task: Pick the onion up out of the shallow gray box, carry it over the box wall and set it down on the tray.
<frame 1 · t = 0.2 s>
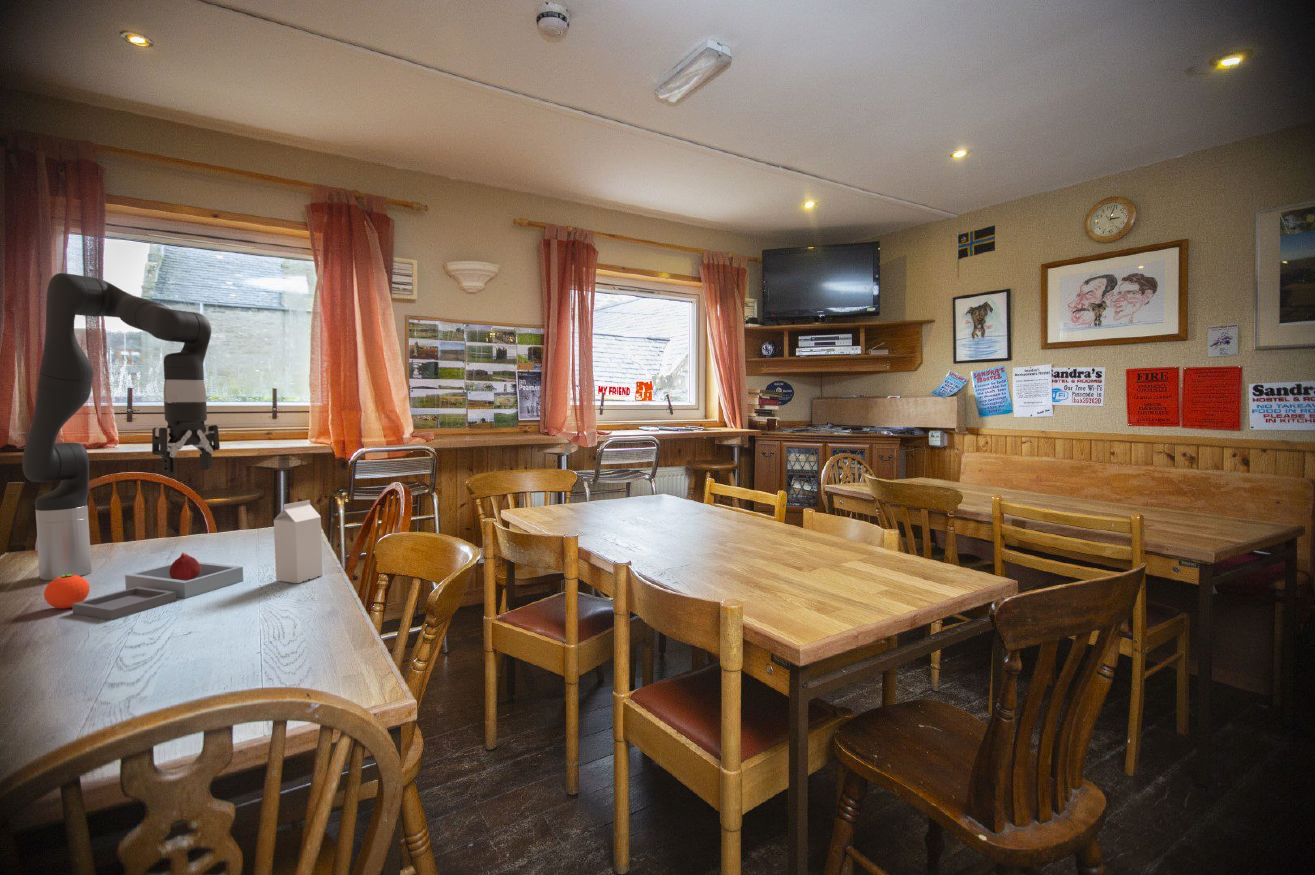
hand: (188, 472, 136), 28 cm above the table, fingers open, 8 cm apart
milk carton: (299, 579, 148), on the table
tray: (125, 607, 128), on the table
onion: (186, 586, 143), resting in shallow gray box
shallow gray box: (185, 585, 143), on the table
clementine: (68, 607, 128), on the table
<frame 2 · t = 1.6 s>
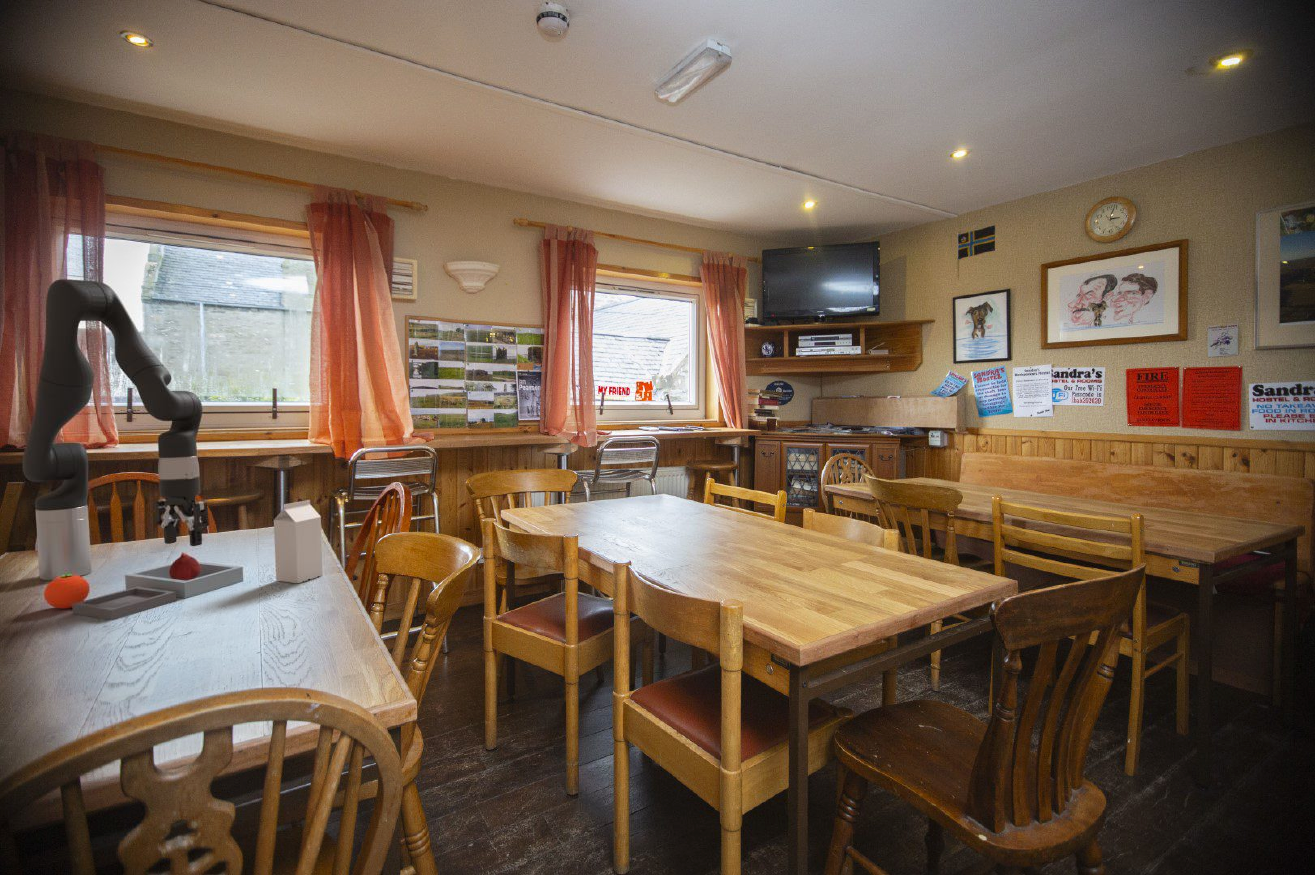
hand: (183, 544, 142), 10 cm above the table, fingers open, 8 cm apart
nothing on the table moved.
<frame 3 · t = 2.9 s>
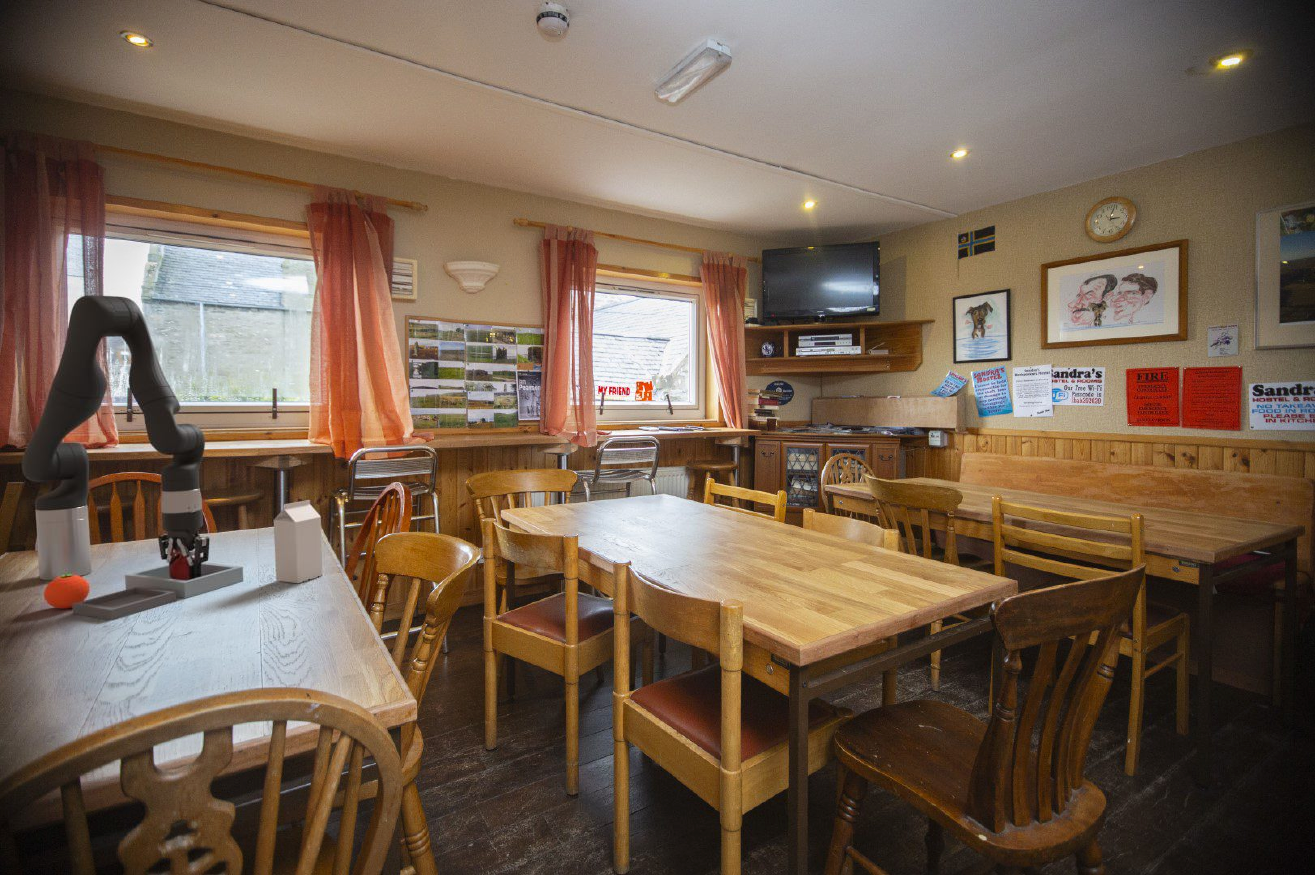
hand: (185, 578, 143), 2 cm above the table, fingers closed on onion, 6 cm apart
onion: (186, 586, 143), resting in shallow gray box, touching gripper
everything else where it was.
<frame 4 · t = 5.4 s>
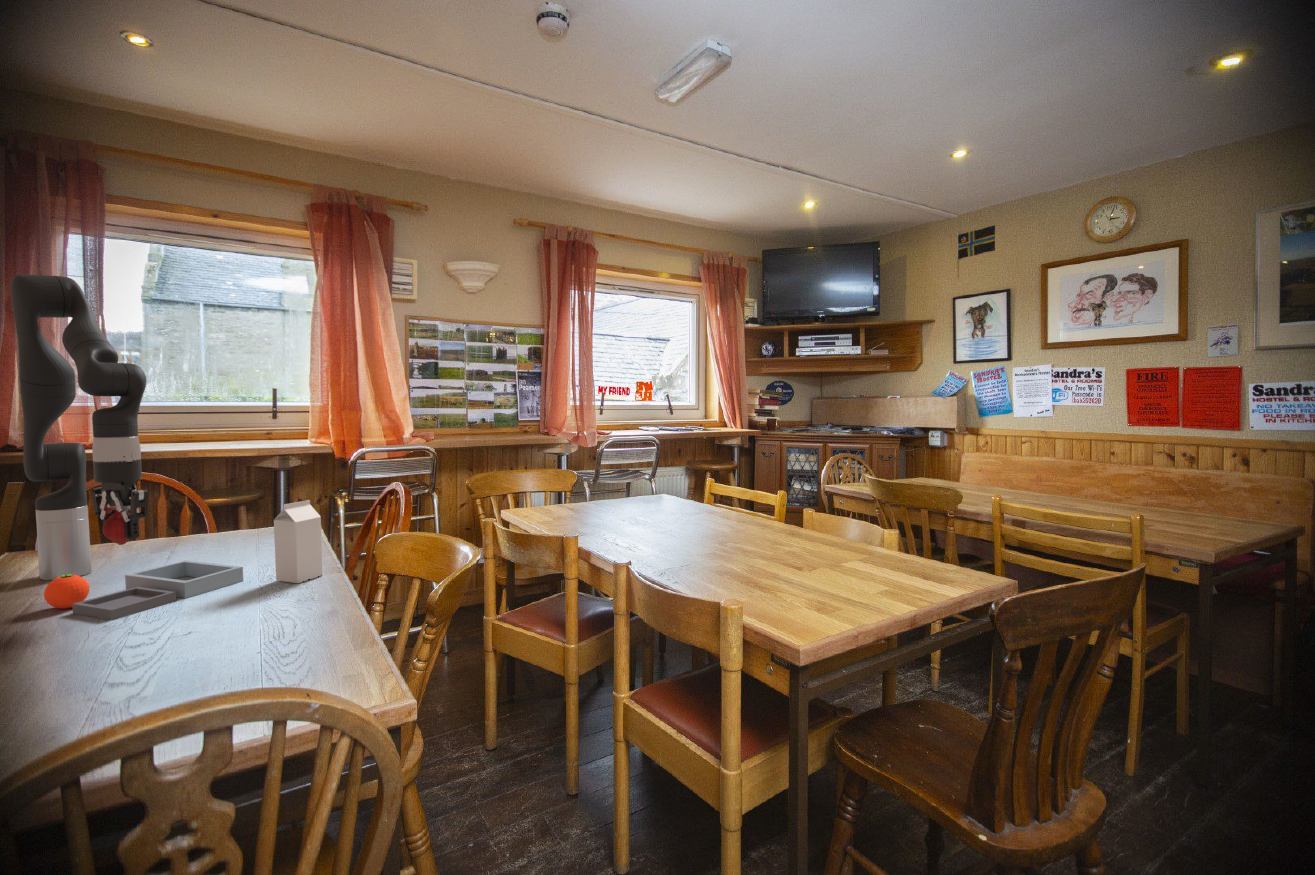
hand: (121, 537, 127), 15 cm above the table, fingers closed on onion, 6 cm apart
onion: (122, 545, 127), point 13 cm above the table, touching gripper
everything else where it was.
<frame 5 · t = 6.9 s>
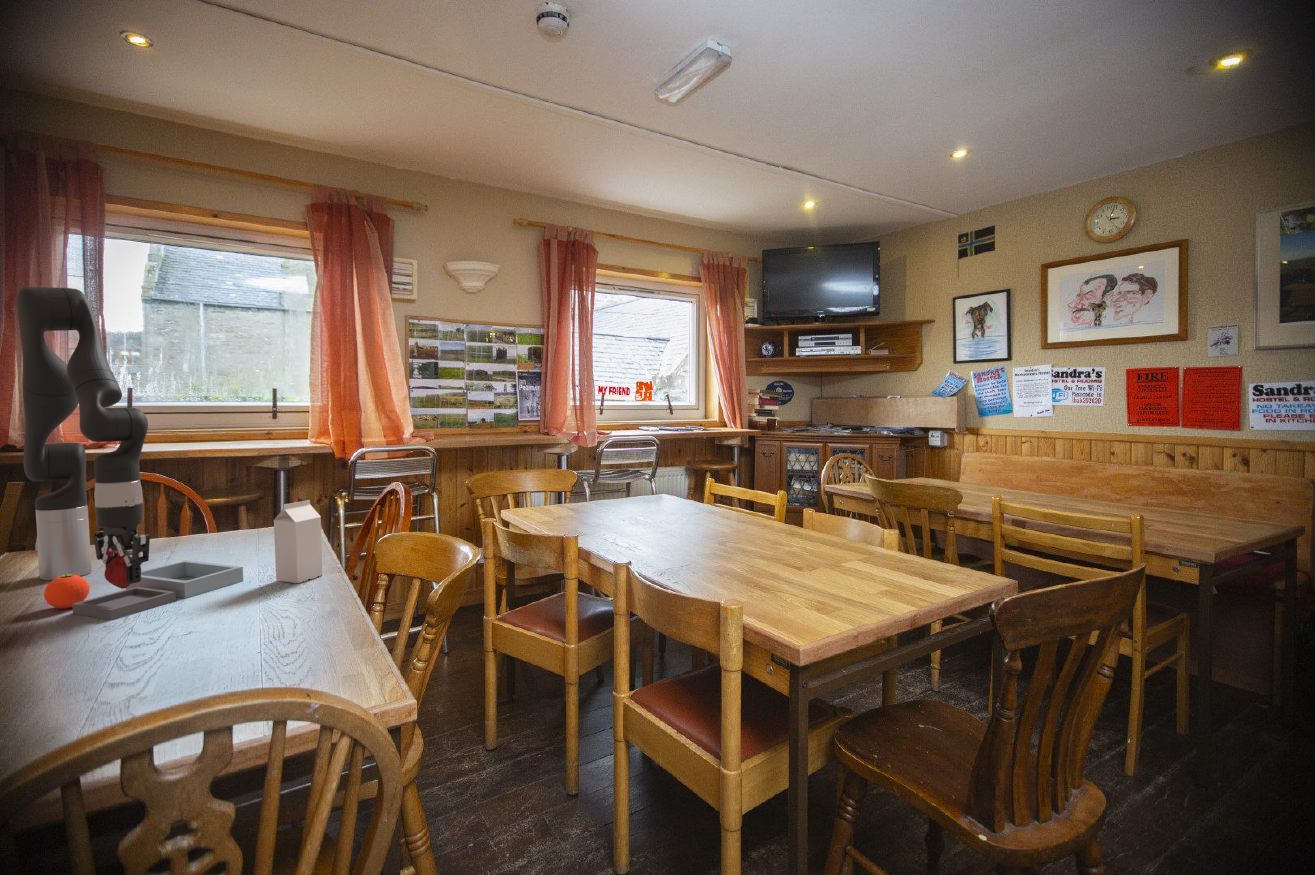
hand: (123, 581, 127), 6 cm above the table, fingers closed on onion, 6 cm apart
onion: (124, 589, 128), point 4 cm above the table, touching gripper
everything else where it was.
when the fingers open (4 cm above the table, at t = 8.3 s): onion drops 1 cm, resting on tray.
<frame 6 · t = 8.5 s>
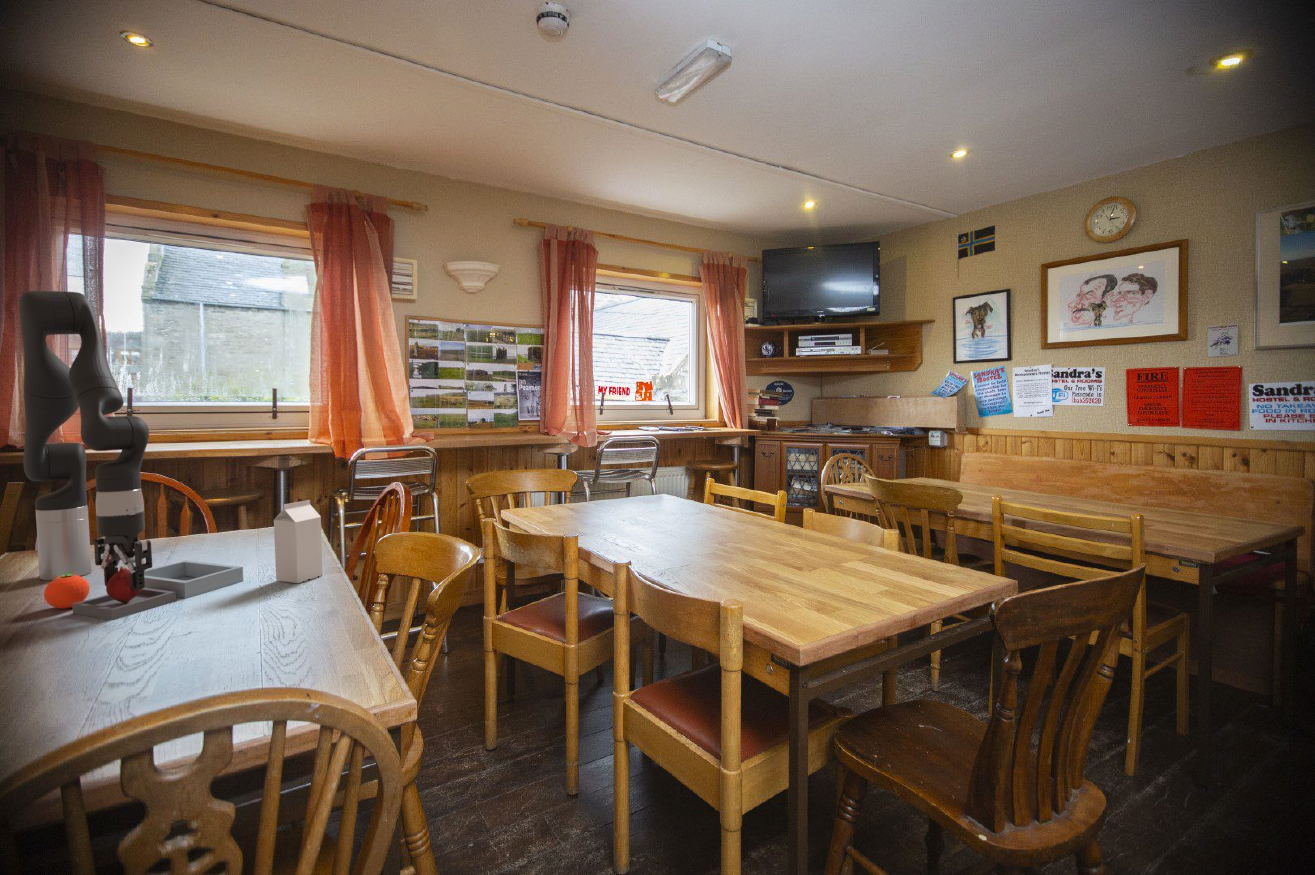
hand: (124, 587, 128), 4 cm above the table, fingers open, 7 cm apart
onion: (126, 604, 128), point 1 cm above the table, touching tray
everything else where it was.
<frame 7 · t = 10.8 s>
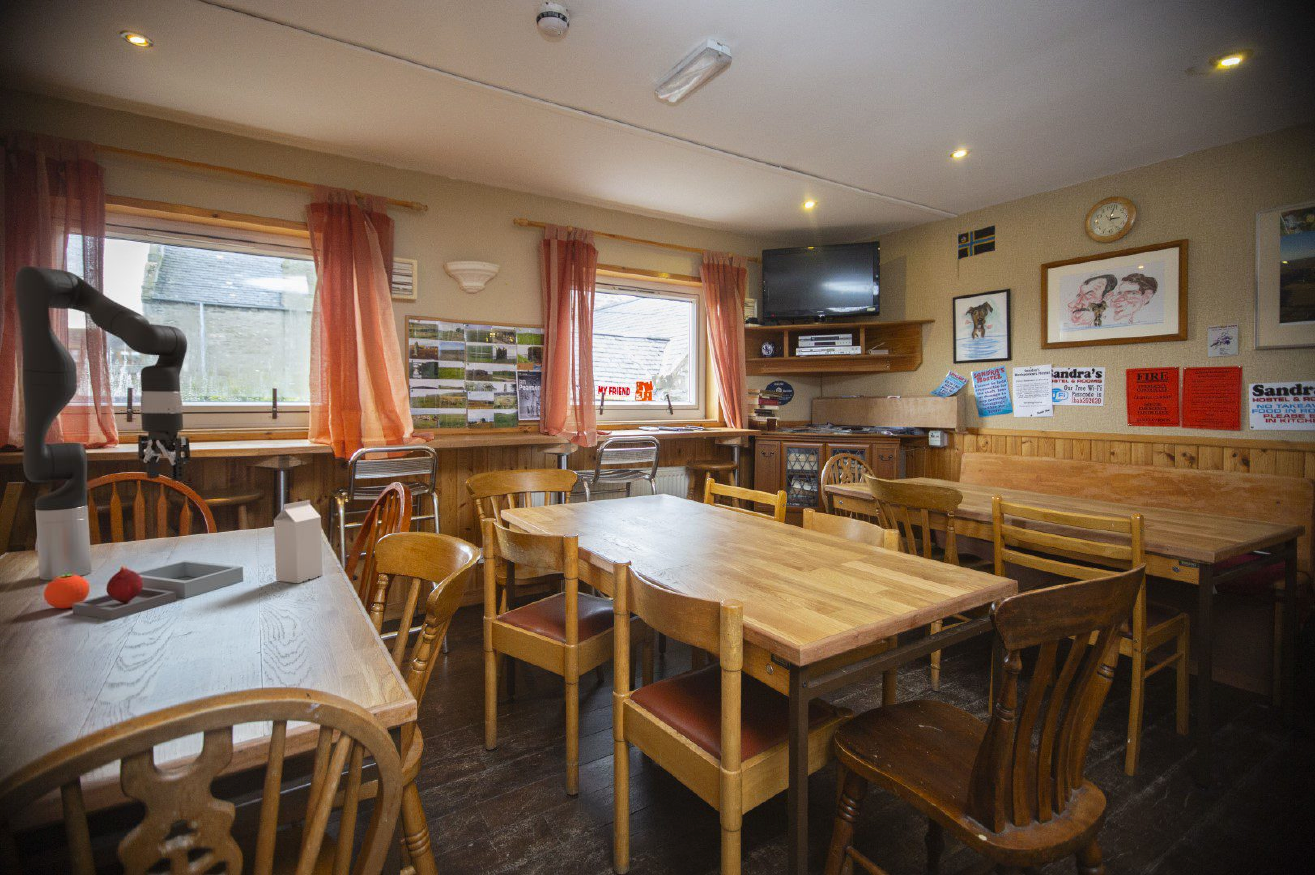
hand: (165, 479, 142), 25 cm above the table, fingers open, 8 cm apart
nothing on the table moved.
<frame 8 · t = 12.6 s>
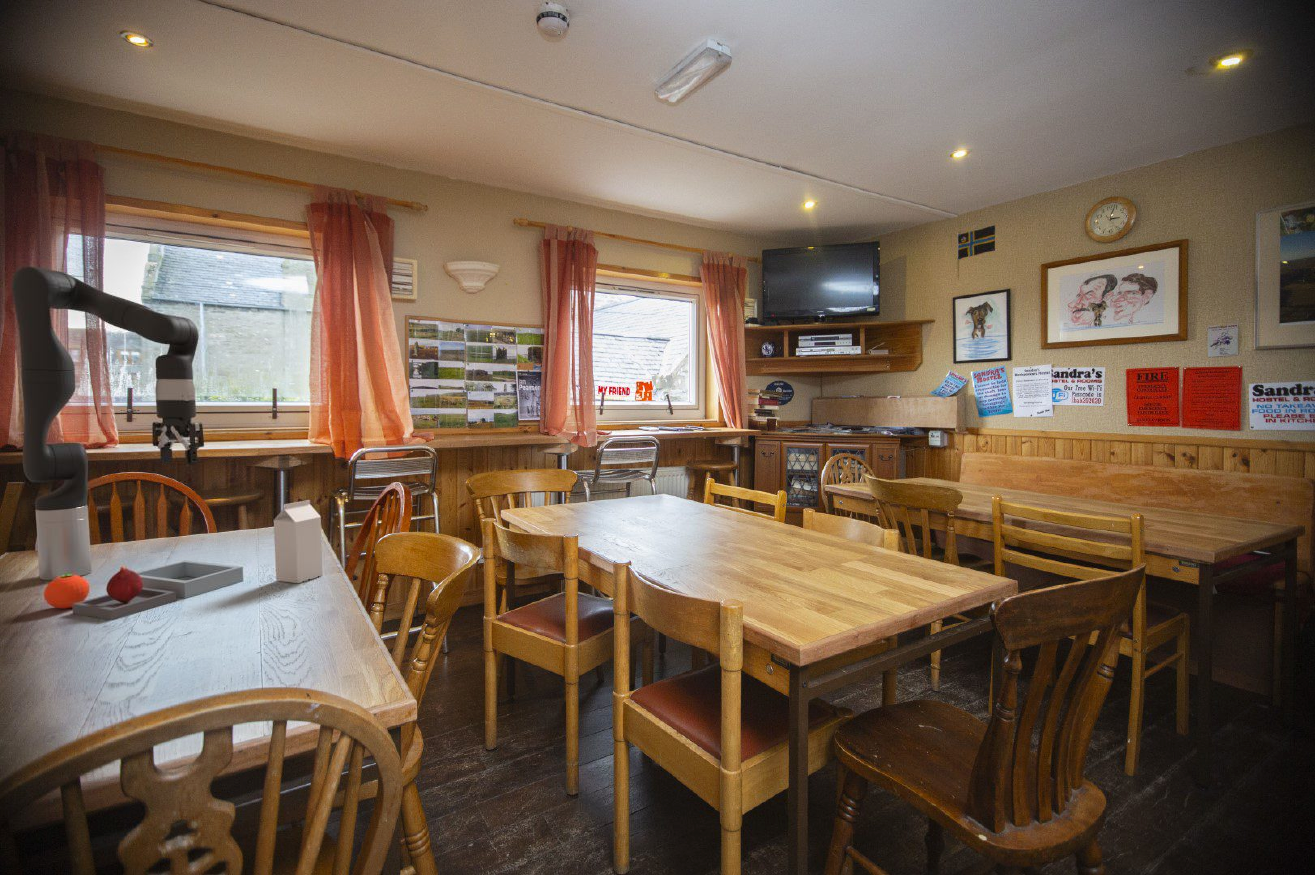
hand: (179, 464, 147), 28 cm above the table, fingers open, 8 cm apart
nothing on the table moved.
at the end: onion 0.1 cm from the tray (horizontally); onion point 0.6 cm above the table; the gripper is holding nothing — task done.
